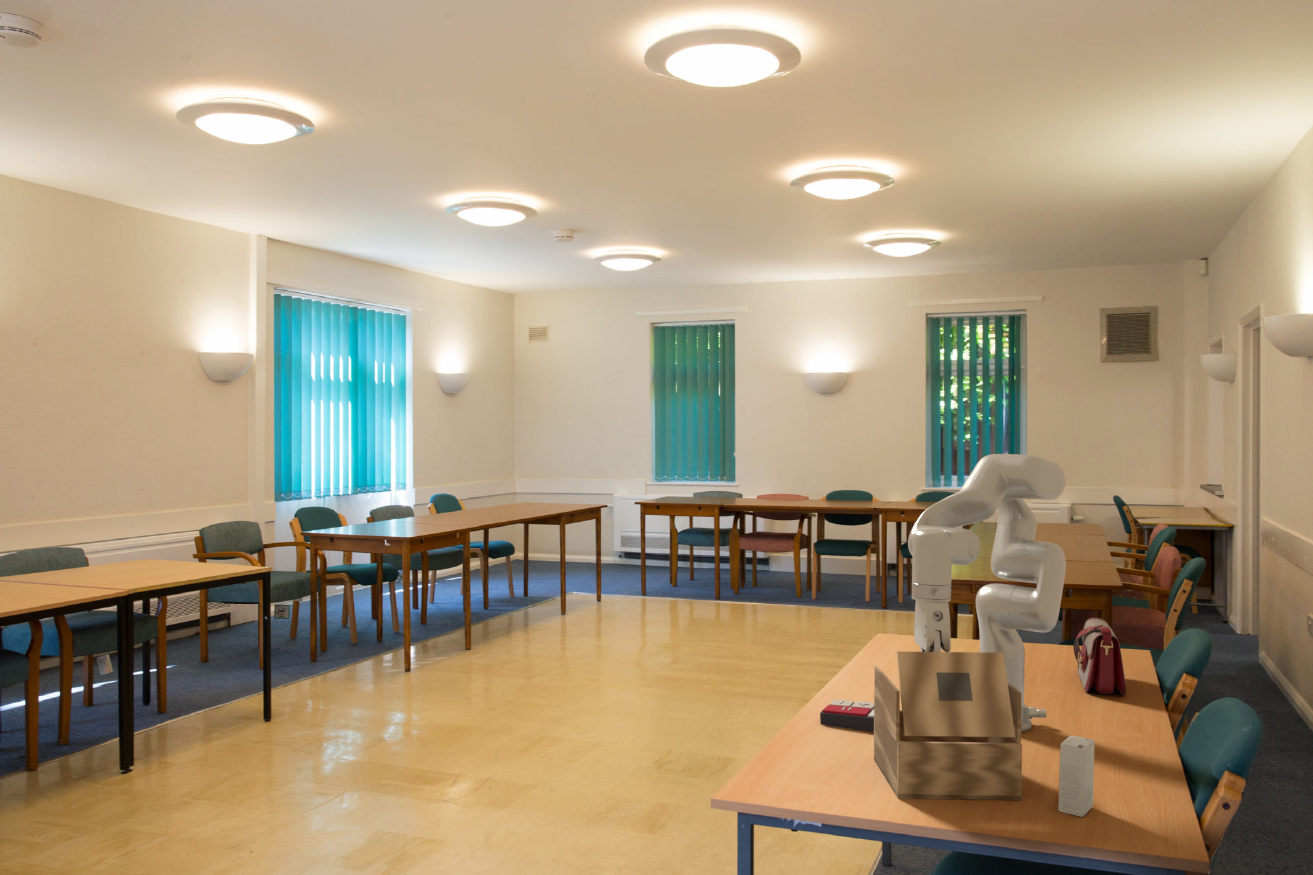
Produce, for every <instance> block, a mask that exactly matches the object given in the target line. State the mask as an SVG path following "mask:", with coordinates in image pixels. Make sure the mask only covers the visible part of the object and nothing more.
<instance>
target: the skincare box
mask: <svg viewBox="0 0 1313 875" xmlns="http://www.w3.org/2000/svg"><path fill="white" fill-rule="evenodd" d="M1059 745H1060V746H1059V747H1060V748H1059V749H1060V751H1059V753H1060V754H1059V773H1058V774H1059V775H1058V778H1059V779H1058V780H1059V781H1058V805H1057V808H1058V812H1061V813H1064V814H1066V815H1070V814H1073V815H1072V816H1074V815H1076V816H1075V817H1079V816H1080V817H1081V818H1084V816H1086V814H1087V813H1088V812H1089V811H1090V810H1091V809H1092V808H1093V806H1094V805H1093V804H1094V777H1095V775H1094V773H1095V772H1094V769H1095V768H1094V767H1095V740H1094V739H1092V738H1088V737H1082V736H1077V735H1069V736H1068V737H1067V738H1066V739H1065V740H1063V741H1062V742H1060V744H1059Z"/></svg>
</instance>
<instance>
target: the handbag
mask: <svg viewBox="0 0 1313 875" xmlns="http://www.w3.org/2000/svg"><path fill="white" fill-rule="evenodd" d="M1082 628H1083V629H1082V630H1081V631H1079V632H1078V634H1077V636H1076V638H1075V640H1074V642H1073V653H1074V657H1075V660H1076V662H1077V664H1078V665H1077V674H1078V677H1079V680H1080V682H1081V684H1082V688H1083V689H1084V692H1085V693H1088V692H1089V691H1090V689H1091V688H1093V687H1094V689H1095V691H1096V693H1098V694H1102V695H1112V694H1113V693H1114V691H1115V688H1116V689H1117V690H1118V692H1120V694H1121V696H1126V691H1127V686H1126V678H1125V670H1124V663H1123V655H1122V651H1121V650H1122V649H1121V644H1120V642H1119V639H1118V638H1117V636H1116V634H1115V632H1114V631H1113V629H1112V627H1110V625H1109V623H1108V622H1107V621H1106V620H1105V619H1104V618H1103V619H1102V618H1100V617H1089V618H1088V619H1086V620H1085V622H1084V625H1083V627H1082ZM1079 640H1081V643H1082V646H1081V648H1080V644H1079Z"/></svg>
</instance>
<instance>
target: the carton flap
mask: <svg viewBox="0 0 1313 875" xmlns="http://www.w3.org/2000/svg"><path fill="white" fill-rule="evenodd" d="M896 660H897V661H896V662H897V670H898V671H897V672H898V681H899V691H900V703H901V704H900V705H901V710H902V714H903V725H904V736H946V737H1015V731H1014V724H1013V717H1012V710H1011V703H1010V696H1009V689H1008V682H1007V675H1006V668H1005V661H1004V654H1003V653H984V652H980V651H979V652H976V651H975V652H974V651H973V652H972V651H971V652H968V651H965V652H964V651H963V652H962V651H949V652H945V651H941V652H921V651H896Z"/></svg>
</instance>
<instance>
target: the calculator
mask: <svg viewBox="0 0 1313 875" xmlns="http://www.w3.org/2000/svg"><path fill="white" fill-rule="evenodd" d="M819 720H820V722H819V723H820V724H819V725H821V726H828V727H834V728H841V729H848V730H857V731H858V730H859V731H866V732H868V733H872V734H874V702H870V701H859V700H857V701H854V700H846V699H836V698H835V699H833V700H832V701H831V702H830V703H829V704H827V705H826V706H825V707H824V708H823V709H822V710H821V711H820V713H819Z"/></svg>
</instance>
